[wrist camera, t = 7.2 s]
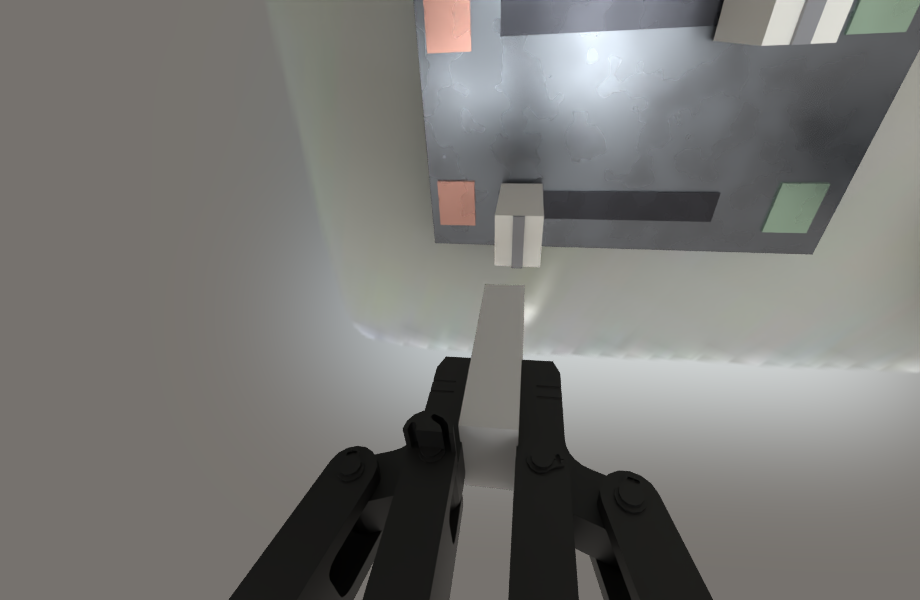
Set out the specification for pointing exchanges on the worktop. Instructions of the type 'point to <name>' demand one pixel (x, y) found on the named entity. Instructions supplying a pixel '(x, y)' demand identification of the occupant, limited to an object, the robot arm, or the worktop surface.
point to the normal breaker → (781, 21)
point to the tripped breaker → (519, 225)
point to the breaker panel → (650, 120)
